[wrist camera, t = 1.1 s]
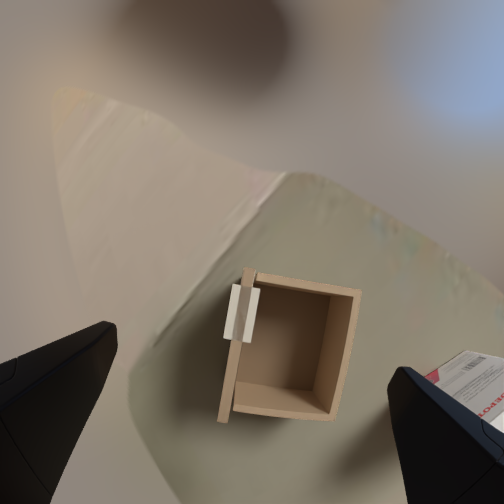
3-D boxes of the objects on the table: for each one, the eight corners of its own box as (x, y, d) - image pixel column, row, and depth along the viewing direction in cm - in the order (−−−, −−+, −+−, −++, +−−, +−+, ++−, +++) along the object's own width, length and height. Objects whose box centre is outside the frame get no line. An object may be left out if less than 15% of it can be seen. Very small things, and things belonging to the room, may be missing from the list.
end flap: (237, 385, 24) (235, 424, 16) (218, 382, 24) (209, 420, 16) (256, 277, 25) (263, 270, 17) (237, 274, 25) (236, 265, 17)
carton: (315, 394, 24) (334, 421, 18) (234, 384, 24) (232, 410, 18) (335, 290, 25) (361, 289, 19) (254, 277, 25) (257, 272, 19)
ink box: (407, 428, 24) (478, 480, 12) (398, 388, 24) (478, 431, 13) (471, 387, 24) (549, 413, 13) (466, 347, 25) (551, 362, 13)
